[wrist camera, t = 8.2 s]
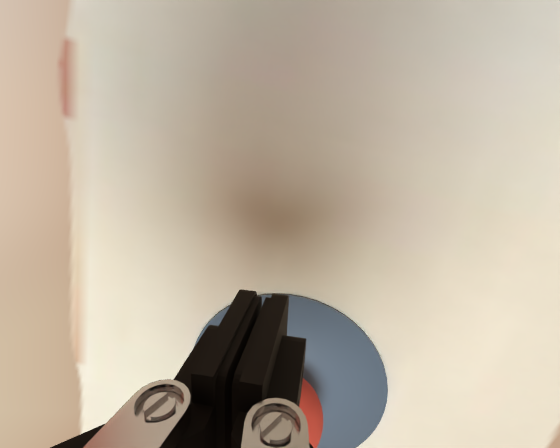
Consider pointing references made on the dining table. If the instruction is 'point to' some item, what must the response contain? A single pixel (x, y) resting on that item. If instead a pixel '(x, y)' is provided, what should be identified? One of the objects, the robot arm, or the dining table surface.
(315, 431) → the ball
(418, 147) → the dining table surface
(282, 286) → the dining table surface
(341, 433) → the disc
